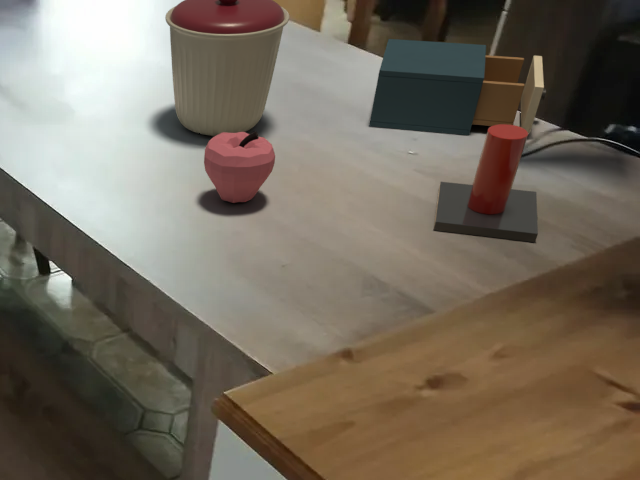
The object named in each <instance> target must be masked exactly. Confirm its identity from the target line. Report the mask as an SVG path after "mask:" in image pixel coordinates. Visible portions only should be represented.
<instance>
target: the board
mask: <svg viewBox="0 0 640 480" xmlns="http://www.w3.org/2000/svg"><path fill="white" fill-rule="evenodd" d="M472 185H473V184H466V183H458V182H449V181H440V182H439V186H438V191H437V199H436V206H435V214H434V222H433V231H437V232H438V231H439V232H446V233H456V234H462V235H469V236H470V235H472V236H477V237H478V236H479V237H488V238H494V239H495V238H497V239H503V240H510V241H511V240H513V241H522V242H529V243H536V242H537V239H538V235H539V229H538V228H539V224H538V204H537V203H538V201H537V200H538V199H537V191H533V190H525V189H524V190H523V189H514V188H512V189H511V192H510V195H509V198H508V202H507V205H506V208H505V210H504V211H503V212H501V213H498V214H482V213H478V212H475V211H473V210H471V209H470V208H469V207H468V200H469V196H470V193H471V189H472Z"/></svg>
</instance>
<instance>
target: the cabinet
mask: <svg viewBox="0 0 640 480" xmlns="http://www.w3.org/2000/svg"><path fill="white" fill-rule="evenodd" d="M486 55H487V44H476V43H475V44H474V43H462V42H461V43H459V42H447V41H446V42H442V41H428V40H413V39H412V40H411V39H397V38H396V39H395V38H394V39H393V38H388V40H387V43H386V47H385V50H384V54H383V57H382V61H381V63H380V67H379V71H378V75H377V81H376V88H375V91H374V92H375V93H374V97H373V103H372V108H371V112H370V119H369V124H368V127H372V128H373V127H375V128H384V129H394V130H395V129H396V130H404V131H405V130H406V131H415V132H427V133H428V132H429V133H439V134H449V135H450V134H451V135H459V136H470V133H471V129H472V126H473V124H472V122H473V119H474V115H475V111H476V107H477V103H478V100H479V96H480V92H481V88H482V84H483V81H484V73H485V57H486Z"/></svg>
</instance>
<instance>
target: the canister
mask: <svg viewBox="0 0 640 480" xmlns="http://www.w3.org/2000/svg"><path fill="white" fill-rule="evenodd" d="M164 18H165V22H166V24H167V25H168V26H169V40H170V57H171V71H172V72H171V74H172V86H173V97H174V107H175V113H176V116H177V119H178V121H179V123H180V124H181V125H182V126H183V127H184V128H185V129H187V130H188V131H190V132H193V133H195V134H199V133H200V134H199V135H203V136H211V137H214V136H216V135H218V134H220V133H222V132H225V133H238V132H245V133H247V131H250V130H251V129H253V128H254V127H255V126H257V124H258V123H259V122H260V120H261V118H262V116H263V115H264V112H265V108H266V105H267V100H268V97H269V92H270V89H271V86H272V81H273V76H274V72H275V68H276V63H277V58H278V53H279V50H280V45H281V42H282V41H281V40H282V37H283V31H284V27H285V26H287V24H288V22H289V21H290V13H289V12H288V10H287V9H286V8H284V7H283V6H281V5H280V4H278V2H277V1H274V0H182V1H180V2H179V3H178V4H177V5H175V6H172V7H171V8H170V9H169V10H167V12H166V14H165V17H164Z"/></svg>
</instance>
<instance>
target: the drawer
mask: <svg viewBox="0 0 640 480" xmlns="http://www.w3.org/2000/svg"><path fill="white" fill-rule="evenodd" d="M524 62H525V58H524V57H516V56H515V57H514V56H501V55H488V54H486V57H485V73H484V81H483V84H482V88H481V92H480V96H479V100H478V103H477V107H476V111H475V115H474V119H473V122H472V125H474V126H475V125H476V126H488V127H491V126H493V125H499V124H508V125H514V123H515V120H516V116H517V112H518V109H519V107H520V127H521V128H524V129H525V130H526V131H527V132H528V134H530V133H531V131H532V128H533V126H534V121H535V118H536V115H537V111H538V109H539V106H540V102H541V101H544V100H545V98H546V94H547V88H545V85H544V84H545V82H544V81H545V80H544V66H543V56H542V55H533V57H532V59H531V63H530V66H529V70H528V74H527V77H526V79H525V83H521V82H519V78H520V75H521V72H522V68H523V65H524ZM519 105H520V106H519Z"/></svg>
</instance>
